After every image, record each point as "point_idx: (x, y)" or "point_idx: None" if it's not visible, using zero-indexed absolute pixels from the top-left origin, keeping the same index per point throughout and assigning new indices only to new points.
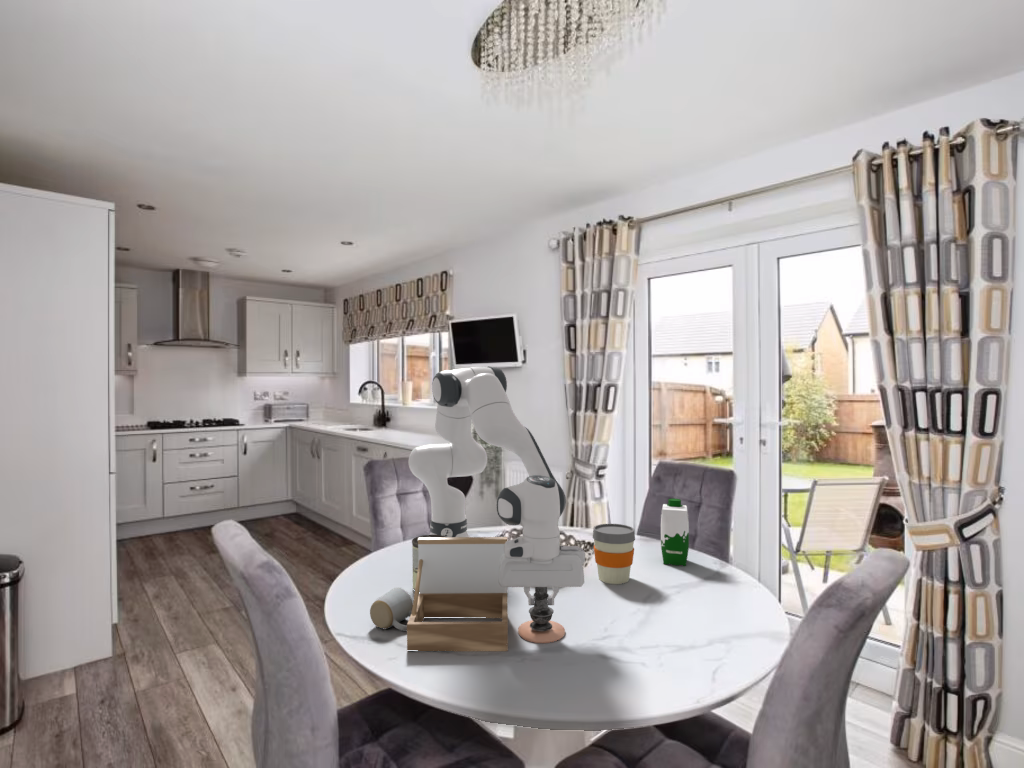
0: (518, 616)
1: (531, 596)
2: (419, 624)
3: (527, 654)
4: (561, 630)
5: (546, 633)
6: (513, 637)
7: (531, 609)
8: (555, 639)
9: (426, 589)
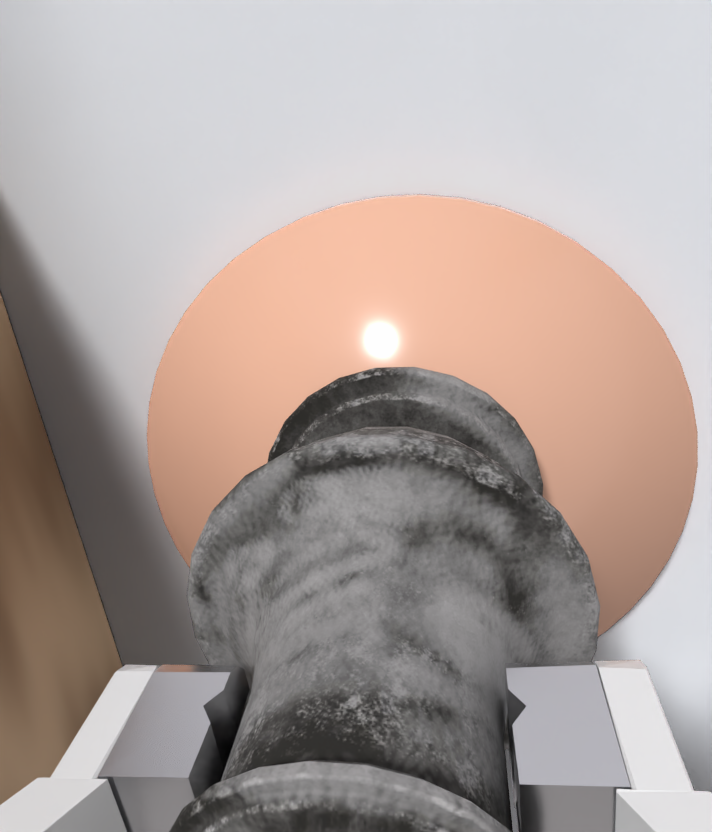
0: (64, 30)
1: (133, 820)
2: None
3: None
4: (650, 491)
5: None
6: (145, 573)
7: (226, 625)
8: None
9: None
